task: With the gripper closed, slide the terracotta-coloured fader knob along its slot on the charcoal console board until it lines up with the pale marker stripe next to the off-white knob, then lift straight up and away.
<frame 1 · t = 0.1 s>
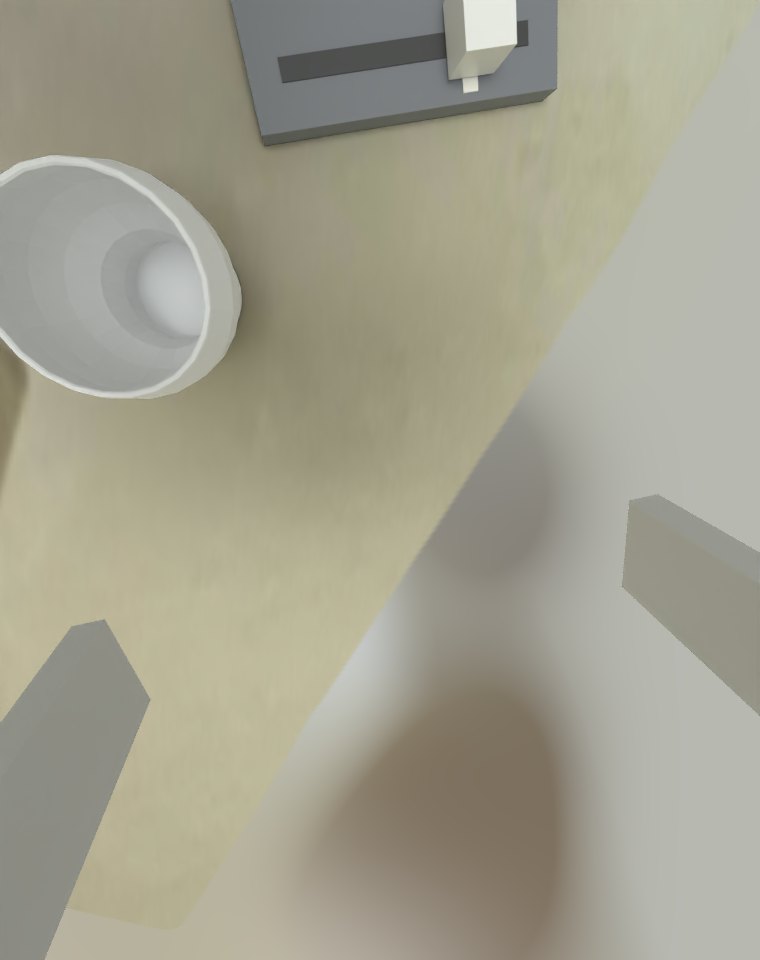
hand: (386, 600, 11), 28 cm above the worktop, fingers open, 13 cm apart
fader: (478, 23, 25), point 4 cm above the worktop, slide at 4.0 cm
cup: (189, 292, 32), on the worktop
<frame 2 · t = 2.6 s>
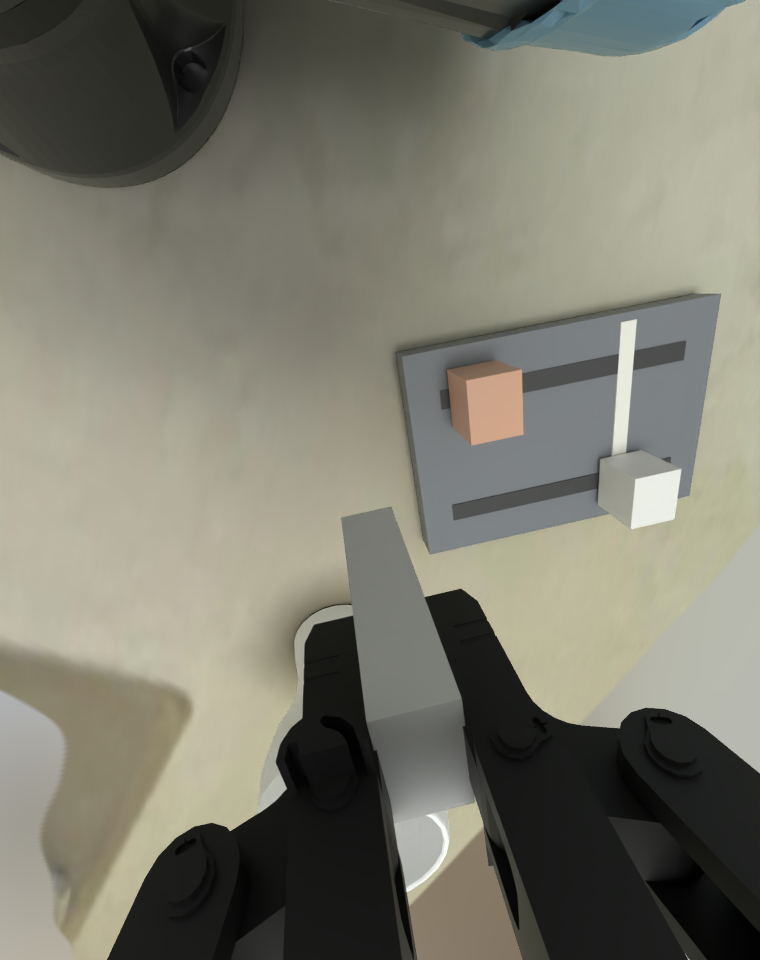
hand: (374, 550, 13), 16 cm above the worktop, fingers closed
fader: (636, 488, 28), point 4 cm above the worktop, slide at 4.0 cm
console: (548, 426, 30), on the worktop
cup: (341, 639, 35), on the worktop
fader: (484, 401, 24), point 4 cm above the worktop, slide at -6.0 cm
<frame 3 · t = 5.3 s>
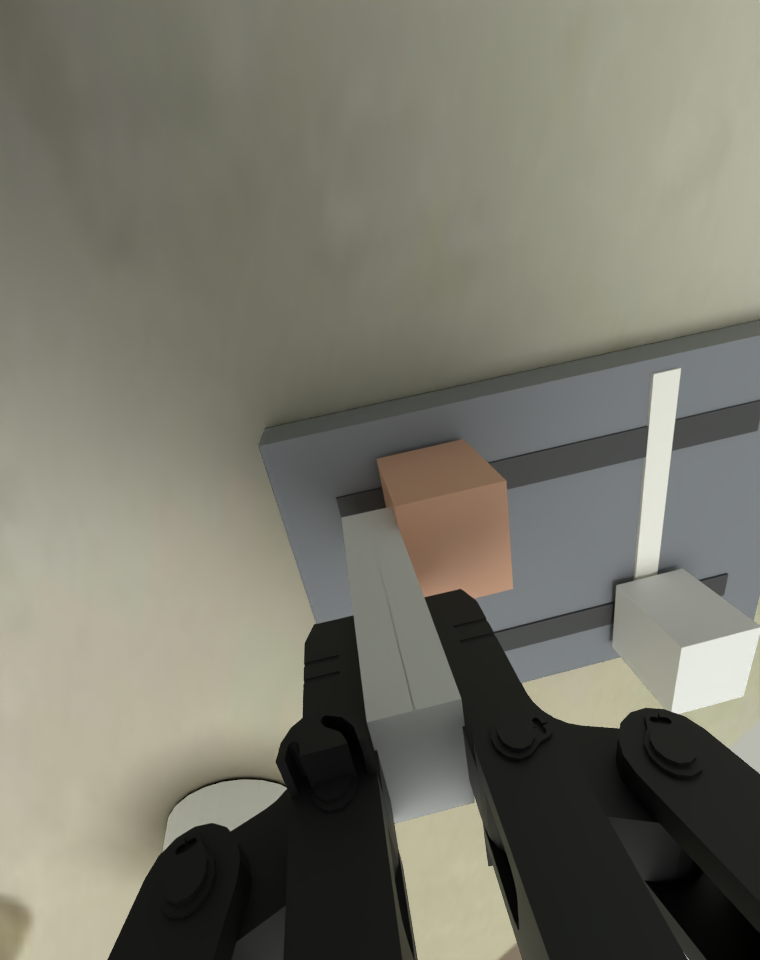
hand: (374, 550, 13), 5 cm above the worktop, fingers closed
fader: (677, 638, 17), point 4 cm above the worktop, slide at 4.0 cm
console: (532, 527, 19), on the worktop
cup: (240, 817, 24), on the worktop
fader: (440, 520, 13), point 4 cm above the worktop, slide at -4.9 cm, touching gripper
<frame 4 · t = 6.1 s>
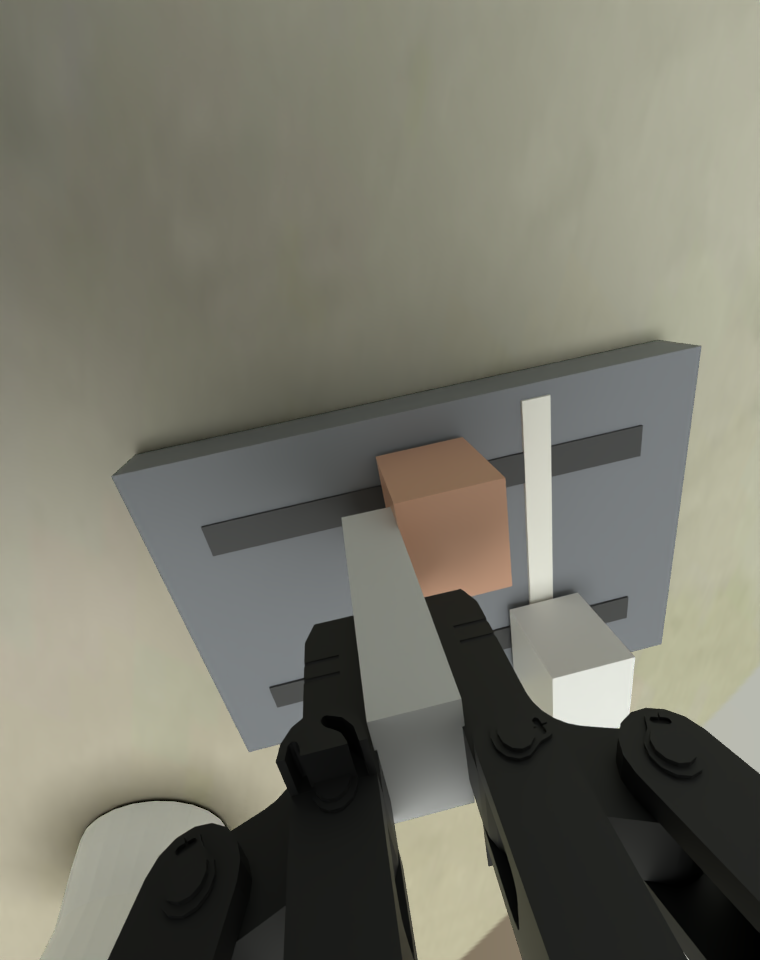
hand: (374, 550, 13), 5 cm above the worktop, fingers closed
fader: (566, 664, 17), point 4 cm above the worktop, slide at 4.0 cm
console: (430, 550, 19), on the worktop
cup: (158, 837, 24), on the worktop
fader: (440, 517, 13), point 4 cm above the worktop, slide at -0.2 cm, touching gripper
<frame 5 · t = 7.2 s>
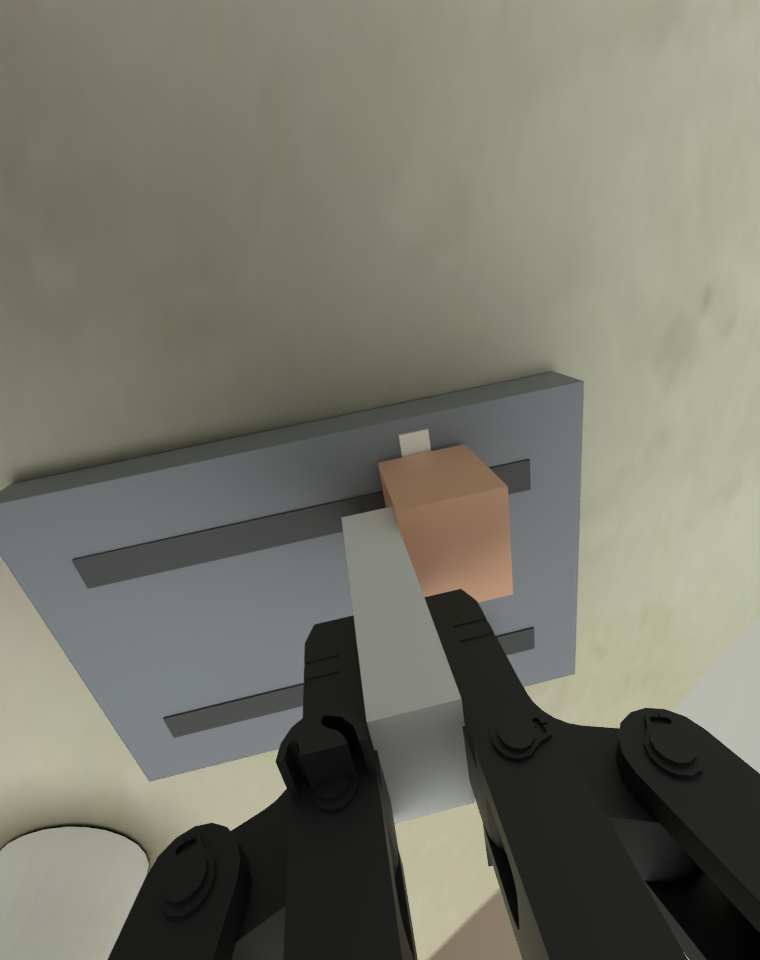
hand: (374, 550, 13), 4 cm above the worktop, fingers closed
console: (334, 578, 18), on the worktop
cup: (75, 862, 24), on the worktop
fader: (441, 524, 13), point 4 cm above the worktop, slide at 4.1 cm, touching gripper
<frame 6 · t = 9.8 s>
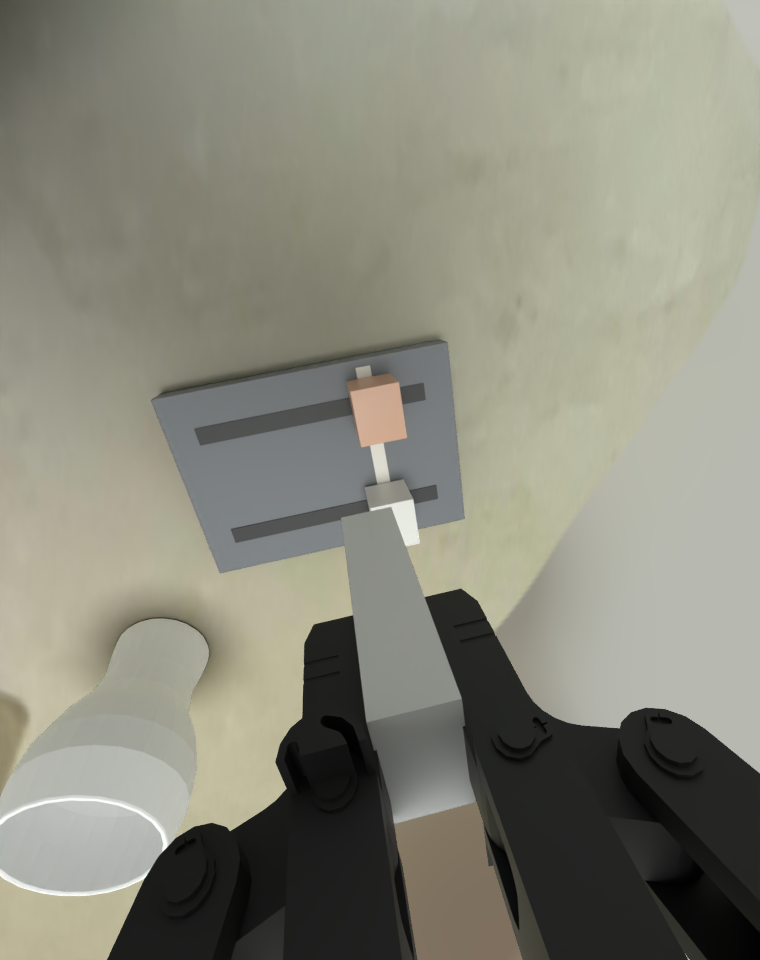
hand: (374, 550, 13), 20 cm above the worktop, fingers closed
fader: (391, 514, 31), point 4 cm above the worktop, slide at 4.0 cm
console: (324, 456, 33), on the worktop
cup: (164, 650, 38), on the worktop
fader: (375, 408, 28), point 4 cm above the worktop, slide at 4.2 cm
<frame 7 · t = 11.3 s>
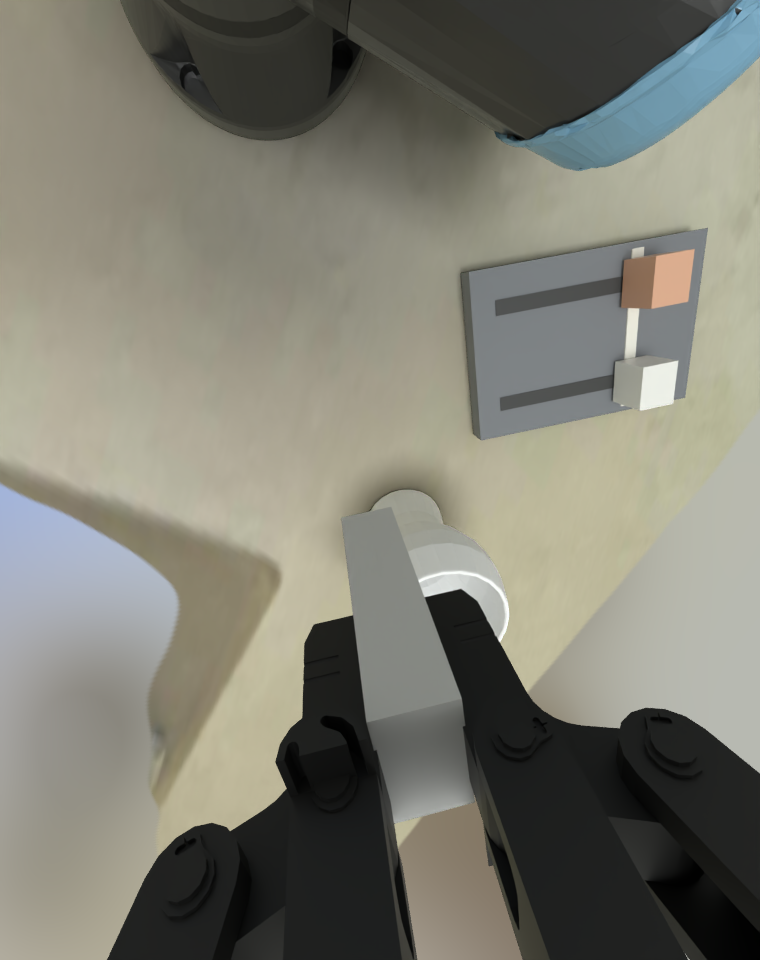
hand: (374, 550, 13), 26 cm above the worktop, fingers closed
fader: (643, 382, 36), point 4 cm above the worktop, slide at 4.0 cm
console: (574, 338, 38), on the worktop
cup: (403, 522, 43), on the worktop
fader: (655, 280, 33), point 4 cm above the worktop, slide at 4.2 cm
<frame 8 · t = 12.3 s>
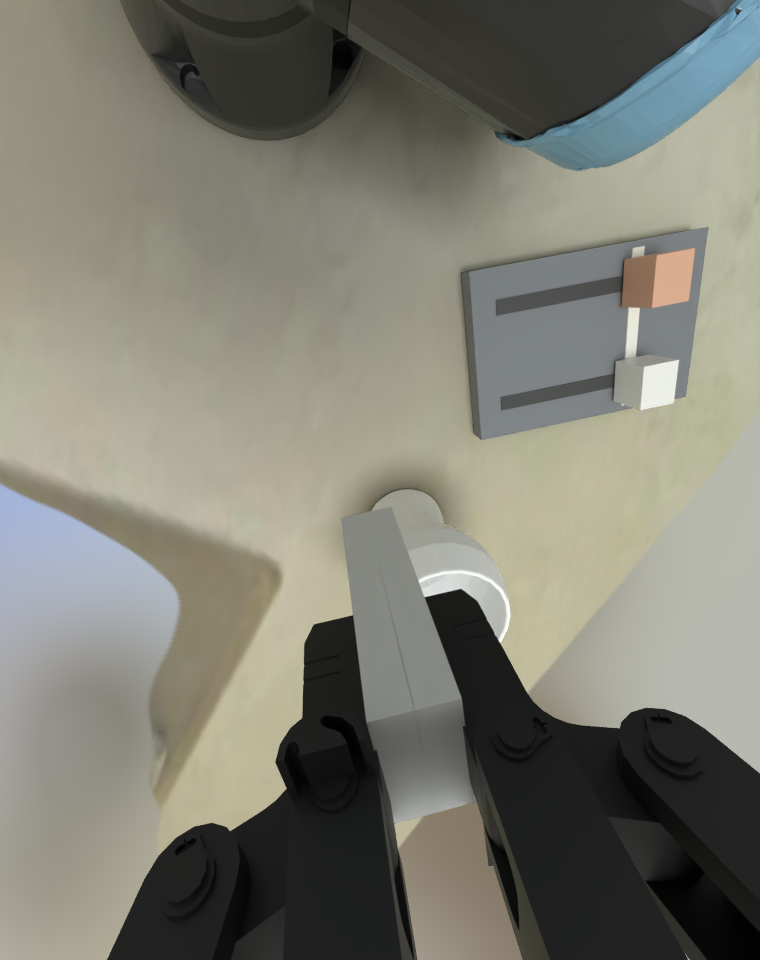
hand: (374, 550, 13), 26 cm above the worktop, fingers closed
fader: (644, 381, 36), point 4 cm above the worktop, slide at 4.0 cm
console: (574, 338, 38), on the worktop
cup: (404, 522, 43), on the worktop
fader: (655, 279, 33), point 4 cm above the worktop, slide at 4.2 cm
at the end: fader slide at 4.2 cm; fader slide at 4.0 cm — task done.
